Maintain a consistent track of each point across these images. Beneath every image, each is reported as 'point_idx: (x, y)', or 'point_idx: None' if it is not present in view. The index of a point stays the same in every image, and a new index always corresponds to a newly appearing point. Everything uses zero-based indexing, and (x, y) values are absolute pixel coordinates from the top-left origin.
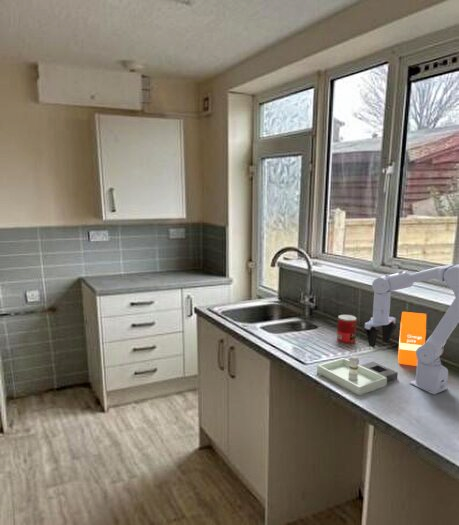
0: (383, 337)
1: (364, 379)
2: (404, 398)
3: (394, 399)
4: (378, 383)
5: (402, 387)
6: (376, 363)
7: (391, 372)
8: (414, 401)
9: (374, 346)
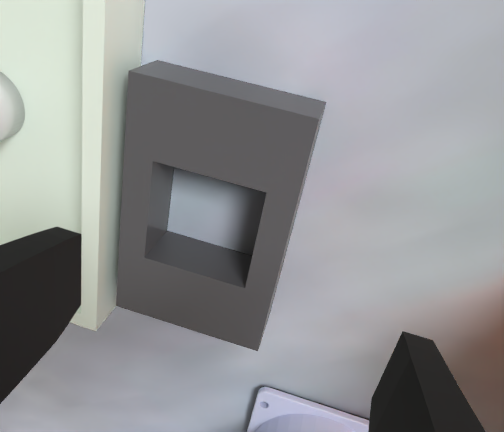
0: (411, 395)
1: (53, 172)
2: (88, 392)
3: (39, 362)
4: None
5: (186, 363)
6: (299, 165)
7: (221, 319)
8: (102, 427)
9: (67, 310)
